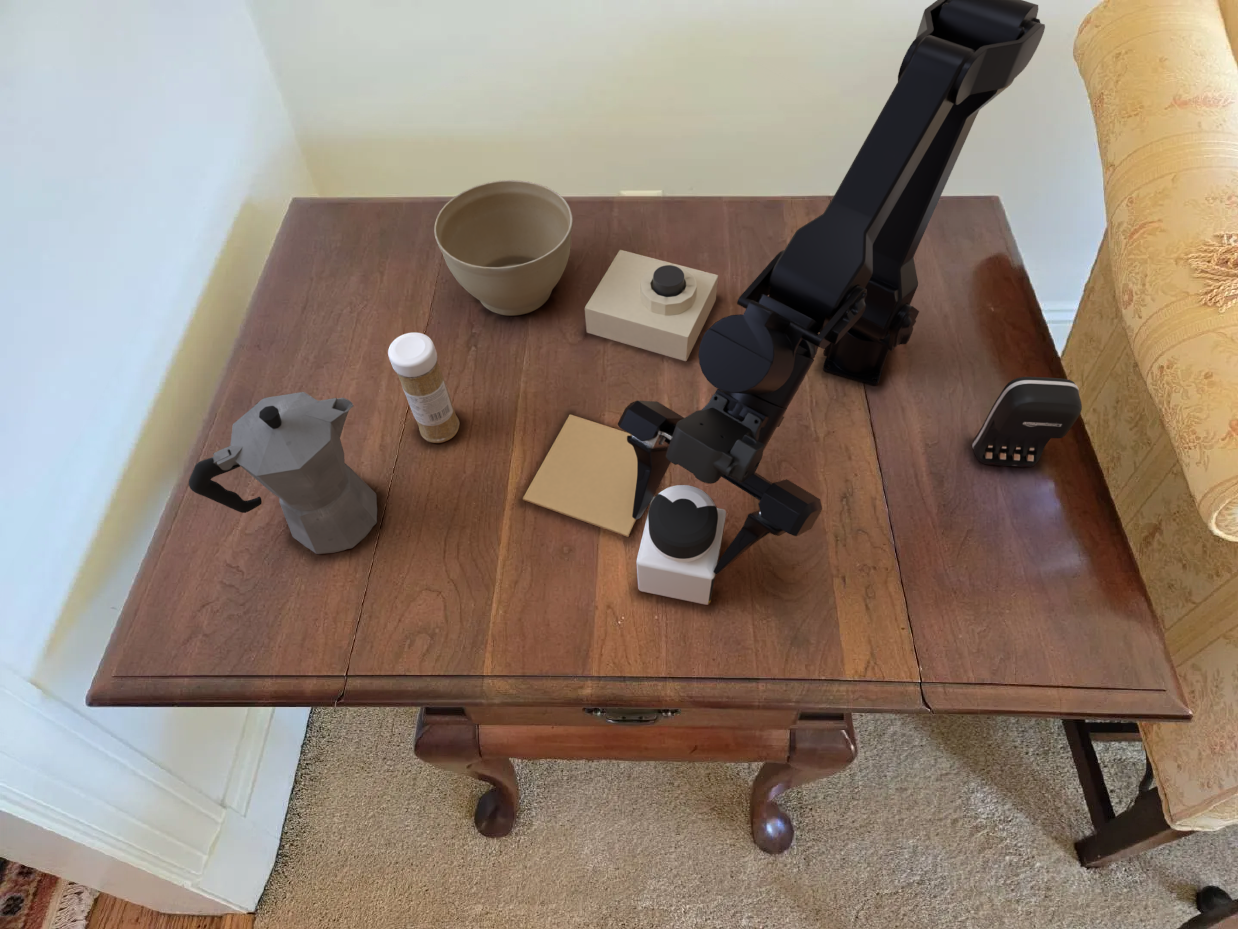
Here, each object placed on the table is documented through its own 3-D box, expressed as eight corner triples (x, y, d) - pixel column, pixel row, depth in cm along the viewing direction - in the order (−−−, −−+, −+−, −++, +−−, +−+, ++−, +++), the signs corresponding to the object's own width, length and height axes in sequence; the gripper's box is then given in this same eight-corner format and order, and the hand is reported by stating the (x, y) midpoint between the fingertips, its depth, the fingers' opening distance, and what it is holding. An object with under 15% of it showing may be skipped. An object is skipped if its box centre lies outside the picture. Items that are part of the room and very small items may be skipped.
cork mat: (669, 448, 85) (669, 445, 85) (628, 537, 79) (628, 535, 79) (570, 416, 88) (569, 414, 88) (523, 500, 82) (522, 498, 82)
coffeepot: (376, 457, 86) (320, 345, 71) (412, 518, 81) (360, 412, 66) (240, 525, 81) (149, 421, 66) (270, 594, 77) (179, 499, 62)
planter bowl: (603, 293, 99) (600, 224, 90) (500, 356, 93) (485, 289, 84) (529, 231, 106) (518, 161, 97) (428, 286, 100) (408, 217, 91)
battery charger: (973, 470, 83) (1016, 404, 73) (968, 441, 85) (1009, 373, 75) (1041, 475, 82) (1093, 408, 73) (1034, 445, 84) (1084, 377, 75)
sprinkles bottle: (454, 408, 89) (428, 325, 78) (464, 438, 87) (437, 357, 76) (415, 419, 88) (383, 337, 77) (424, 450, 86) (391, 370, 75)
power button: (687, 280, 92) (688, 269, 90) (677, 300, 90) (678, 289, 89) (659, 273, 93) (659, 261, 91) (648, 292, 91) (648, 281, 89)
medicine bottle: (709, 606, 75) (717, 557, 64) (637, 591, 76) (633, 540, 65) (722, 540, 78) (731, 483, 68) (652, 527, 79) (651, 468, 69)
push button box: (715, 300, 98) (719, 263, 93) (686, 361, 92) (688, 326, 87) (620, 274, 101) (619, 237, 96) (586, 332, 95) (583, 296, 90)
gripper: (630, 334, 63) (551, 498, 67) (833, 450, 56) (730, 625, 60) (682, 346, 73) (611, 488, 77) (861, 446, 66) (771, 596, 70)
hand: (674, 544), depth 71 cm, fingers open, 9 cm apart
